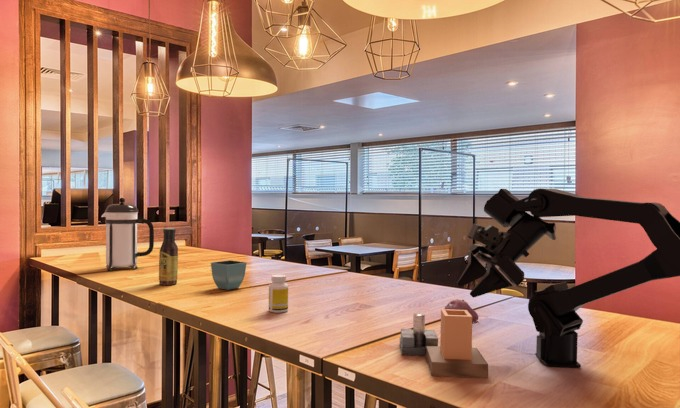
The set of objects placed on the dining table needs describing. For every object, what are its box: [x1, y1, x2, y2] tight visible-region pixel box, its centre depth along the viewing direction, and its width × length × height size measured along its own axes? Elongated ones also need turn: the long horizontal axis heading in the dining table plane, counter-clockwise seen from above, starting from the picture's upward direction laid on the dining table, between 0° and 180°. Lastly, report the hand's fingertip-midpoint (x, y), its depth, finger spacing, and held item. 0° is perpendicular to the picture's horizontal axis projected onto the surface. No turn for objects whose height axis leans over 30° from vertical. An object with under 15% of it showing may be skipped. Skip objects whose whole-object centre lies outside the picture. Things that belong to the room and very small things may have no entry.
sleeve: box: [439, 308, 473, 360], centre depth 89 cm, size 5×5×8 cm
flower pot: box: [210, 259, 247, 291], centre depth 160 cm, size 9×9×9 cm
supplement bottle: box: [268, 274, 289, 314], centre depth 130 cm, size 5×5×10 cm
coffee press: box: [101, 197, 155, 272], centre depth 198 cm, size 17×16×30 cm
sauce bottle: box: [158, 227, 179, 286], centre depth 165 cm, size 7×6×20 cm
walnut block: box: [425, 345, 489, 379], centre depth 89 cm, size 10×9×2 cm
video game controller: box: [444, 299, 479, 322], centre depth 120 cm, size 10×5×7 cm, turn 141°
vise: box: [399, 312, 439, 357], centre depth 99 cm, size 8×7×8 cm
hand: (464, 290), depth 98 cm, fingers open, 9 cm apart
